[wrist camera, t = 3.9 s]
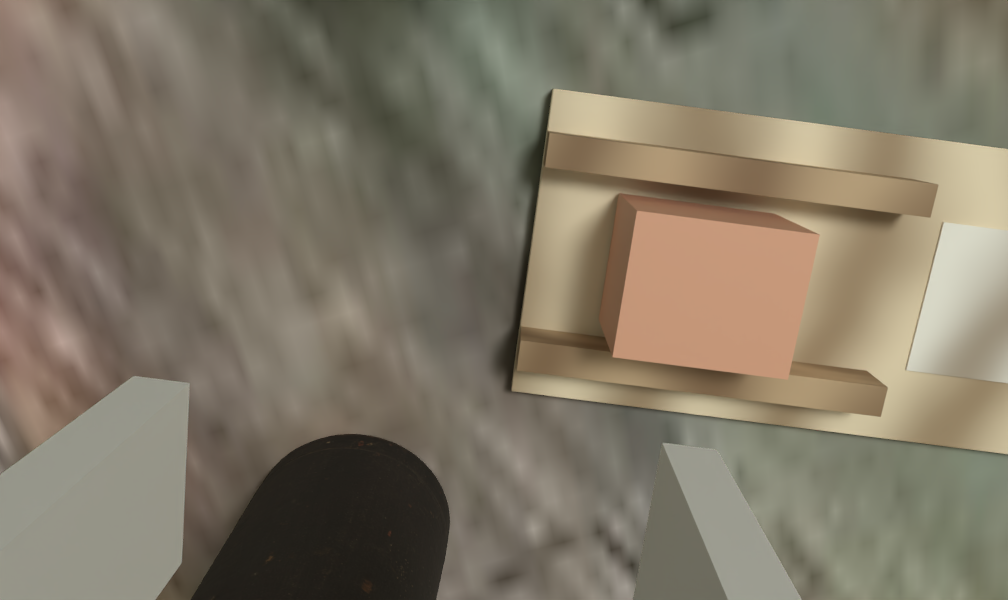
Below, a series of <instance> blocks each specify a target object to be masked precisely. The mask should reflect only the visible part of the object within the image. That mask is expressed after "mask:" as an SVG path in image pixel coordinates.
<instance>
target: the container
mask: <svg viewBox="0 0 1008 600" xmlns="http://www.w3.org/2000/svg"><path fill="white" fill-rule="evenodd" d="M449 527H450V516H449V508H448V503H447V500H446V497H445V494H444V492H443V489H442V487H441V485H440V483H439V482H438V480H437V478H436V477H435V475H434V474H433V473H432V471H431V470H430V469H429V468H428V467H427V466H426V465H425V463H423V462H422V461H421V460H420V459H419V458H418V457H417V456H415V455H414V454H413V453H411V452H410V451H408V450H406V449H405V448H403V447H401V446H399V445H397V444H395V443H393V442H390V441H387V440H384V439H381V438H377V437H373V436H366V435H357V434H345V435H335V436H329V437H326V438H322V439H319V440H316V441H313V442H310V443H308V444H306V445H303V446H301V447H299V448H298V449H296V450H294V451H293V452H291V453H290V454H288V455H287V456H286V457H285V458H283V459H282V460H281V461H280V462H279V463H278V464H277V465H276V466H275V467H274V468H273V469H272V471H271V472H270V473H269V475H268V476H267V477H266V479H265V480H264V482H263V483H262V484H261V486H260V487H259V489H258V490H257V492H256V494H255V495H254V497H253V498H252V500H251V501H250V503H249V505H248V507H247V508H246V510H245V511H244V513H243V515H242V517H241V518H240V520H239V521H238V523H237V525H236V526H235V528H234V530H233V531H232V533H231V534H230V536H229V538H228V539H227V541H226V543H225V544H224V546H223V548H222V549H221V551H220V553H219V554H218V556H217V557H216V559H215V561H214V562H213V564H212V566H211V567H210V569H209V571H208V572H207V574H206V575H205V577H204V579H203V581H202V582H201V584H200V586H199V587H198V589H197V591H196V592H195V594H194V595H193V597H192V599H191V600H436V597H437V592H438V588H439V583H440V579H441V574H442V570H443V565H444V561H445V555H446V548H447V542H448V534H449Z"/></svg>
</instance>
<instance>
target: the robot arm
mask: <svg viewBox="0 0 1008 600" xmlns="http://www.w3.org/2000/svg"><path fill="white" fill-rule="evenodd" d="M189 388H190V383H186V382H178V381H170V380H162V379H154V378H146V377H138V376H133V377H132V378H130V379H129V380H128V381H126V382H125V383H123V384H122V385H121V386H119V387H118V388H117V389H115V390H114V391H113V392H111V393H110V394H109V395H107V396H106V397H105V398H103V399H102V400H100V401H99V402H98V403H96V404H95V405H94V406H92V407H91V408H90V409H88V410H87V411H86V412H84V413H83V414H82V415H80V416H79V417H77V418H76V419H75V420H73V421H72V422H71V423H69V424H68V425H67V426H65V427H64V428H63V429H61V430H60V431H58V432H57V433H56V434H54V435H53V436H52V437H50V438H49V439H48V440H46V441H45V442H44V443H42V444H41V445H40V446H38V447H37V448H35V449H34V450H33V451H31V452H30V453H29V454H27V455H26V456H25V457H23V458H22V459H21V460H19V461H18V462H16V463H15V464H14V465H12V466H11V467H10V468H8V469H7V470H6V471H4V472H3V473H2V474H0V600H156V598H157V597H158V596H159V594H160V593H161V591H162V590H163V589H164V587H165V586H166V584H167V583H168V582H169V580H170V579H171V577H172V576H173V575H174V573H175V572H176V570H177V569H178V568H179V566H180V565H181V563H182V549H183V526H184V503H185V480H186V457H187V434H188V411H189ZM633 600H802V599H801V597H800V596H799V594H798V592H797V590H796V589H795V587H794V585H793V583H792V581H791V580H790V578H789V576H788V574H787V573H786V571H785V569H784V567H783V566H782V564H781V562H780V560H779V558H778V557H777V555H776V553H775V551H774V550H773V548H772V546H771V544H770V542H769V541H768V539H767V537H766V535H765V534H764V532H763V530H762V528H761V527H760V525H759V523H758V521H757V519H756V518H755V516H754V514H753V512H752V511H751V509H750V507H749V505H748V504H747V502H746V500H745V498H744V496H743V495H742V493H741V491H740V489H739V488H738V486H737V484H736V482H735V480H734V479H733V477H732V475H731V473H730V472H729V470H728V468H727V466H726V465H725V463H724V461H723V459H722V457H721V456H720V454H719V452H718V450H716V449H708V448H700V447H692V446H684V445H676V444H668V443H662V447H661V452H660V458H659V463H658V468H657V474H656V479H655V485H654V490H653V495H652V501H651V506H650V511H649V517H648V522H647V528H646V533H645V538H644V544H643V549H642V554H641V560H640V565H639V571H638V576H637V581H636V587H635V592H634V597H633Z"/></svg>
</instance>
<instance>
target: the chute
mask: <svg viewBox="0 0 1008 600" xmlns="http://www.w3.org/2000/svg"><path fill="white" fill-rule="evenodd" d="M619 193H622V194H629V195H637V196H645V197H652V198H660V199H667V200H675V201H683V202H690V203H698V204H706V205H713V206H721V207H728V208H736V209H744V210H751V211H759V212H766V213H774V214H776V215H779V216H781V217H783V218H785V219H787V220H789V221H792V222H794V223H796V224H798V225H800V226H802V227H804V228H807V229H809V230H811V231H813V232H815V233H817V234H820V236H819V241H818V246H817V250H816V255H815V259H814V264H813V268H812V273H811V277H810V282H809V287H808V291H807V296H806V300H805V305H804V309H803V314H802V318H801V323H800V327H799V332H798V337H797V341H796V346H795V350H794V355H793V359H792V364H791V368H790V373H789V378H788V380H786V379H778V378H771V377H763V376H755V375H747V374H739V373H732V372H724V371H716V370H708V369H700V368H692V367H685V366H677V365H669V364H661V363H653V362H646V361H638V360H630V359H622V358H614V357H612V354H611V352H610V349H609V346H608V344H607V341H606V338H605V335H604V333H603V330H602V327H601V324H600V322H599V313H600V307H601V301H602V295H603V288H604V282H605V276H606V270H607V264H608V257H609V251H610V245H611V239H612V233H613V226H614V220H615V214H616V208H617V202H618V195H619ZM512 391H515V392H523V393H531V394H539V395H547V396H555V397H563V398H570V399H578V400H586V401H594V402H602V403H610V404H618V405H625V406H633V407H641V408H649V409H657V410H665V411H673V412H681V413H688V414H696V415H704V416H712V417H720V418H728V419H736V420H743V421H751V422H759V423H767V424H775V425H783V426H791V427H798V428H806V429H814V430H822V431H830V432H838V433H846V434H854V435H861V436H869V437H877V438H885V439H893V440H901V441H909V442H916V443H924V444H932V445H940V446H948V447H956V448H964V449H972V450H979V451H987V452H995V453H1003V454H1008V149H1002V148H995V147H987V146H980V145H972V144H965V143H957V142H950V141H942V140H935V139H927V138H920V137H912V136H905V135H897V134H890V133H882V132H875V131H867V130H860V129H852V128H845V127H837V126H830V125H822V124H815V123H807V122H800V121H792V120H785V119H777V118H770V117H762V116H755V115H747V114H740V113H732V112H725V111H717V110H710V109H702V108H695V107H687V106H680V105H672V104H665V103H657V102H650V101H642V100H635V99H627V98H620V97H612V96H605V95H597V94H590V93H582V92H575V91H567V90H560V89H552V96H551V103H550V110H549V117H548V125H547V132H546V139H545V146H544V153H543V161H542V168H541V175H540V182H539V190H538V197H537V204H536V211H535V218H534V226H533V233H532V240H531V247H530V254H529V262H528V269H527V276H526V283H525V291H524V298H523V305H522V312H521V319H520V327H519V334H518V341H517V348H516V356H515V363H514V370H513V377H512Z"/></svg>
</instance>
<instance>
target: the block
mask: <svg viewBox="0 0 1008 600" xmlns="http://www.w3.org/2000/svg"><path fill="white" fill-rule="evenodd" d="M819 236H820V234H817V233H815V232H813V231H811V230H809V229H807V228H804V227H802V226H800V225H798V224H796V223H794V222H792V221H789V220H787V219H785V218H783V217H781V216H779V215H776V214H774V213H766V212H759V211H751V210H744V209H736V208H728V207H721V206H713V205H706V204H698V203H690V202H683V201H675V200H667V199H660V198H652V197H645V196H637V195H629V194H622V193H619V195H618V202H617V208H616V214H615V220H614V226H613V233H612V239H611V245H610V251H609V257H608V264H607V270H606V276H605V282H604V288H603V295H602V301H601V307H600V313H599V322H600V324H601V327H602V330H603V333H604V335H605V338H606V341H607V344H608V346H609V349H610V352H611V354H612V357H614V358H622V359H630V360H638V361H646V362H653V363H661V364H669V365H677V366H685V367H692V368H700V369H708V370H716V371H724V372H732V373H739V374H747V375H755V376H763V377H771V378H778V379H786V380H788V378H789V373H790V368H791V364H792V359H793V355H794V350H795V346H796V341H797V337H798V332H799V327H800V323H801V318H802V314H803V309H804V305H805V300H806V296H807V291H808V287H809V282H810V277H811V273H812V268H813V264H814V259H815V255H816V250H817V246H818V241H819Z"/></svg>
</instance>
